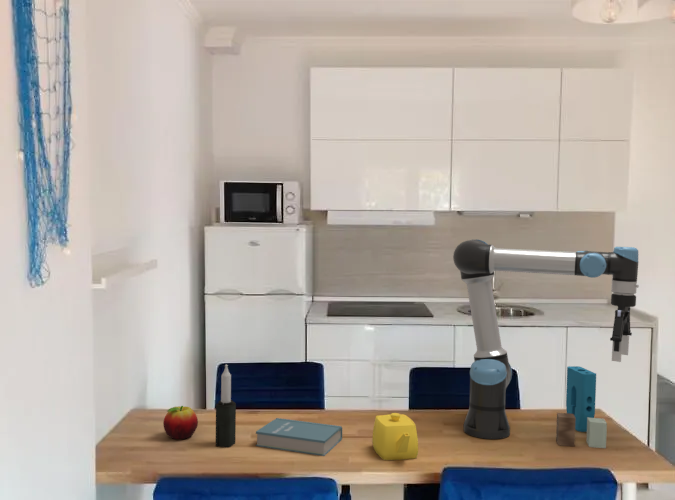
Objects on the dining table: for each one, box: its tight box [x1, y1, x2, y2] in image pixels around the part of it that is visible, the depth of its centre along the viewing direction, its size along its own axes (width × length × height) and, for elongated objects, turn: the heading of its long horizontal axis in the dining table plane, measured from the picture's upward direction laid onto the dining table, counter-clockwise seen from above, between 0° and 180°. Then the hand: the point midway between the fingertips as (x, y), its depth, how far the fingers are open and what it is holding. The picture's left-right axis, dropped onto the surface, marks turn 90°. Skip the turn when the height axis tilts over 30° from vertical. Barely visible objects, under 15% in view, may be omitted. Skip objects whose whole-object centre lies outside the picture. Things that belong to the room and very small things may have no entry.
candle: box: [215, 364, 237, 448], centre depth 201 cm, size 5×5×25 cm
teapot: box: [371, 412, 419, 461], centre depth 197 cm, size 20×12×12 cm, turn 12°
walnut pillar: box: [555, 412, 576, 447], centre depth 208 cm, size 5×5×9 cm
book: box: [255, 417, 343, 457], centre depth 205 cm, size 23×16×5 cm
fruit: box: [163, 405, 199, 440], centre depth 208 cm, size 11×11×10 cm
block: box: [565, 365, 597, 433], centre depth 225 cm, size 12×5×20 cm, turn 8°
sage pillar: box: [585, 417, 608, 449], centre depth 207 cm, size 5×5×8 cm
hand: (620, 357), depth 215 cm, fingers open, 13 cm apart
